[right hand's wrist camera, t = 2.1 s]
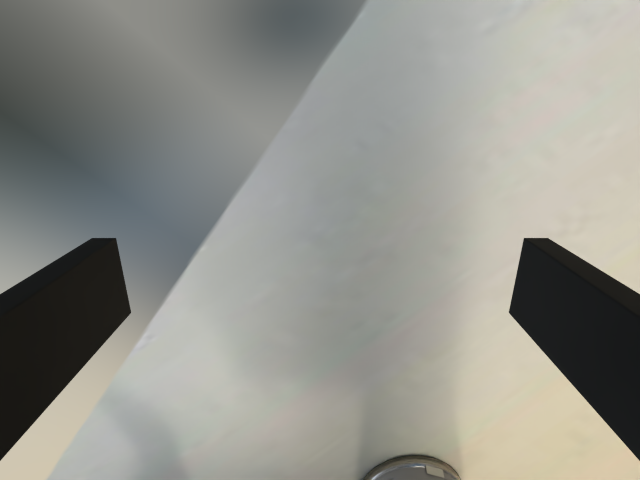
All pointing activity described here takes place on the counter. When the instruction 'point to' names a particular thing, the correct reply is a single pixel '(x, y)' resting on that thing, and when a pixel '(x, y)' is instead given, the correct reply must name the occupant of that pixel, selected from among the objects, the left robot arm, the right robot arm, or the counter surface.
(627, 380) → the right robot arm
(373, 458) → the counter surface
